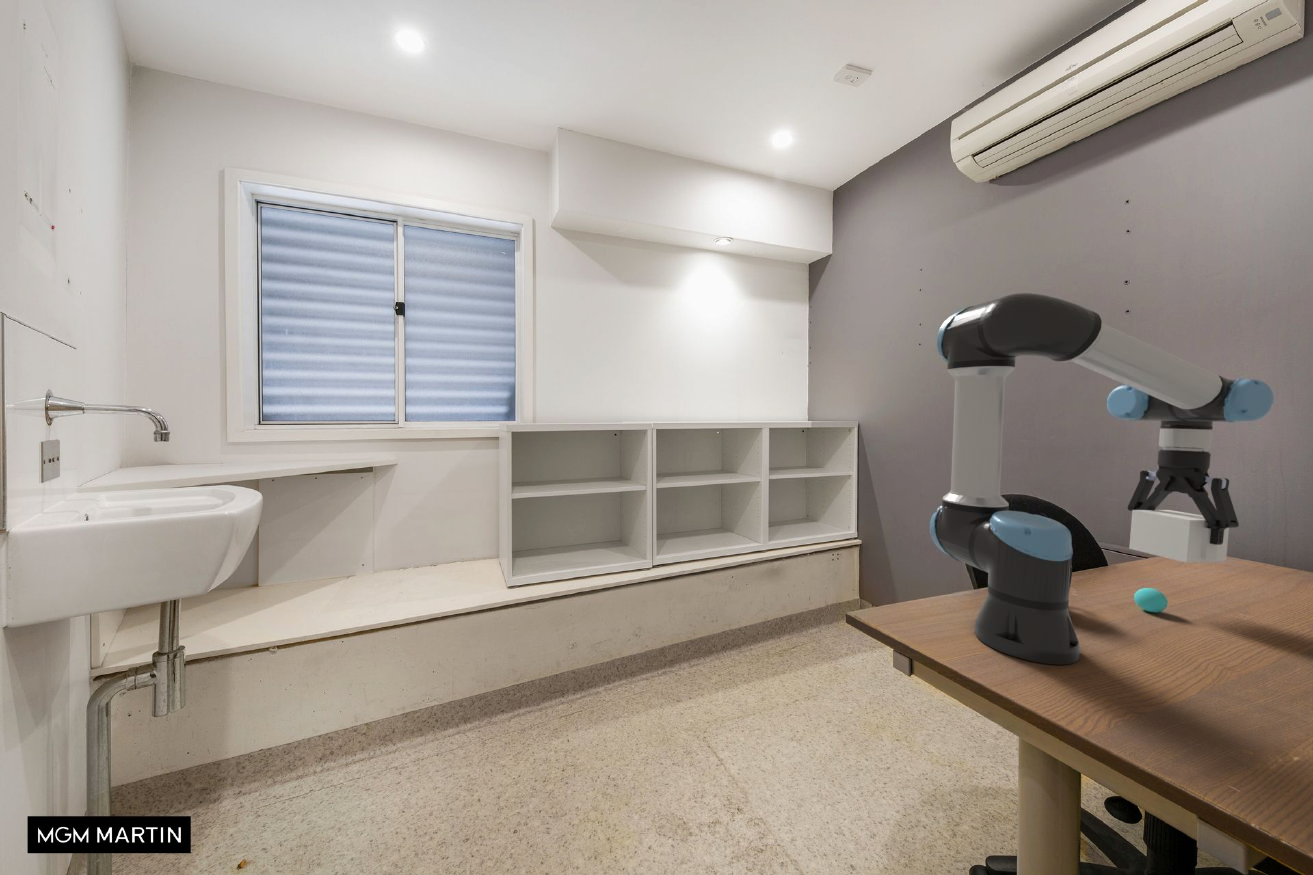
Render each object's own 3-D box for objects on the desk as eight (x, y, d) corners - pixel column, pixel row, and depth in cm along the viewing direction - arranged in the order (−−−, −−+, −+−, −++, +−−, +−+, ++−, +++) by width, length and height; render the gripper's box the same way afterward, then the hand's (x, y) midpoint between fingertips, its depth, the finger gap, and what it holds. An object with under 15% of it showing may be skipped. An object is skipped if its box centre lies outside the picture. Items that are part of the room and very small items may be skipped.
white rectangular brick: (1186, 562, 97) (1190, 520, 96) (1129, 548, 107) (1132, 509, 106) (1225, 561, 98) (1229, 519, 98) (1166, 547, 108) (1169, 509, 108)
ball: (1162, 584, 100) (1174, 599, 101) (1131, 582, 105) (1143, 596, 106) (1157, 603, 98) (1170, 618, 99) (1127, 600, 103) (1139, 615, 103)
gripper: (1274, 454, 91) (1264, 568, 92) (1136, 446, 113) (1129, 537, 114) (1243, 453, 89) (1233, 568, 91) (1110, 445, 112) (1103, 537, 113)
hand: (1175, 551), depth 102 cm, fingers closed on white rectangular brick, 10 cm apart
